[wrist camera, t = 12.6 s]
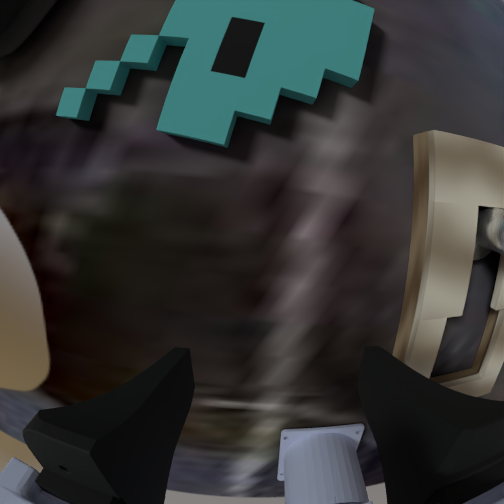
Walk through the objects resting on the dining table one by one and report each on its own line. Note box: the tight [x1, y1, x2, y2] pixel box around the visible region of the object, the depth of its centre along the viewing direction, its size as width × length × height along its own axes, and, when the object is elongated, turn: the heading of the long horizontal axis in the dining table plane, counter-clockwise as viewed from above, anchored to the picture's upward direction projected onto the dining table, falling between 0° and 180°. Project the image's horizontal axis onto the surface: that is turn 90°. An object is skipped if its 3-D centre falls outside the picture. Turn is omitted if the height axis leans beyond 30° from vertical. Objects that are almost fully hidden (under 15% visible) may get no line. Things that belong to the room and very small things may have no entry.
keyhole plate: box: [392, 130, 504, 397], centre depth 18 cm, size 22×12×3 cm, turn 1°
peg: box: [473, 206, 504, 260], centre depth 15 cm, size 6×6×8 cm
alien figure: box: [56, 0, 374, 148], centre depth 15 cm, size 20×2×20 cm
